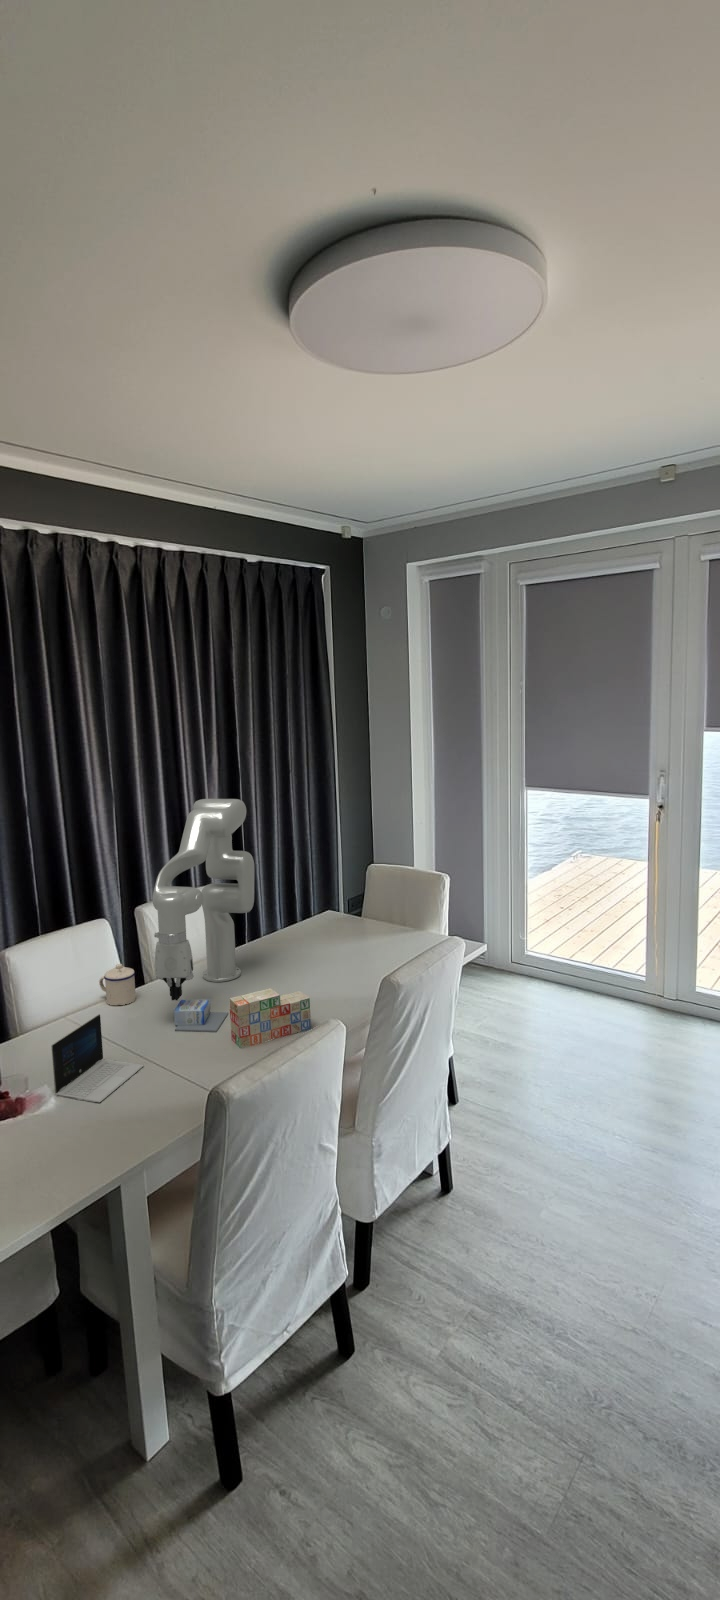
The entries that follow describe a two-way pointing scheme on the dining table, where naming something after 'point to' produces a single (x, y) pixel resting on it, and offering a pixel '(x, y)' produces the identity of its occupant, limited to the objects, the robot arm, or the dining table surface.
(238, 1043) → the stack of blocks
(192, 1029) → the mat
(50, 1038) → the dining table surface
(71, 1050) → the laptop
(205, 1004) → the medicine box
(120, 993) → the teacup with lid
